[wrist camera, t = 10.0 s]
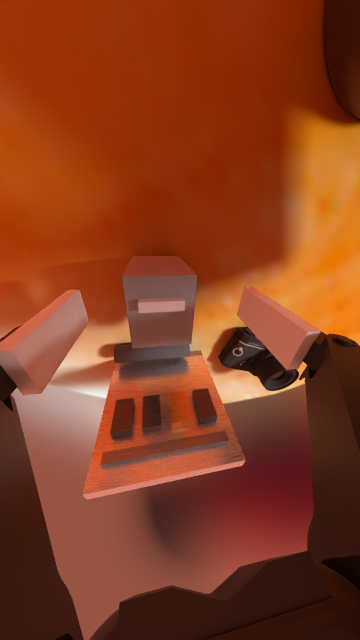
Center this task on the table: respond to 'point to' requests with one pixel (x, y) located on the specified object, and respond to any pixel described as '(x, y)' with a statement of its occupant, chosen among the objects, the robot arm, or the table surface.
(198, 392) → the breaker panel
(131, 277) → the grey tall block
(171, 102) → the table surface
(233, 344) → the film camera
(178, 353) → the gray cylinder
